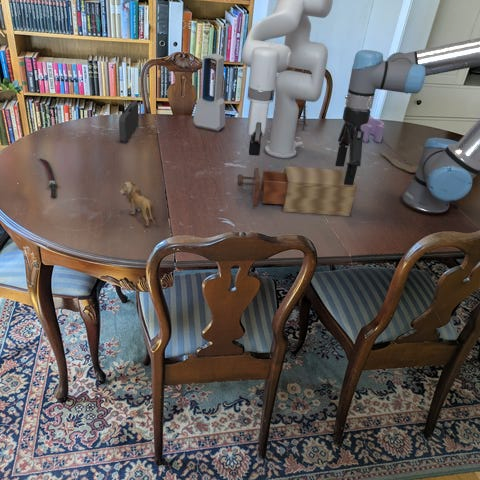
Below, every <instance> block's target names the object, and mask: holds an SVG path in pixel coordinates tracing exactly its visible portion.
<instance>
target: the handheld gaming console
mask: <svg viewBox="0 0 480 480" xmlns="http://www.w3.org/2000/svg"><path fill="white" fill-rule="evenodd" d="M138 126H139V103H138V101H131V102H130V103H129V104H128V105H127V107H126V108H125V109H124V110H123V112H122V113H121V114H120V116H119V117H118V131H119V133H118V134H119V141H120V142H121V143H127V142H128V141H129V139H130V138H131V136H132V135H133V134H134V132H135V131H136V129H137V128H138Z"/></svg>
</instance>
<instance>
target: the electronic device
mask: <svg viewBox="0 0 480 480" xmlns="http://www.w3.org/2000/svg"><path fill="white" fill-rule="evenodd" d="M212 61H214V62H215V66H214V83H213V84H214V85H213V95H210V87H211V72H212V71H211V69H212ZM224 63H225V56H223V55H221V54H219V53H209V54H207V55H205V56H202V63H201V64H202V65H201V66H202V67H201V87H200V98H198V99H197V100H196V103H195V108H194V115H193V125H194V126H195V128H201V129H205V130H209V131H214V132H219V131H220V130H222V129H223V128H224V127H225V126H226V101H225V100H224V98H223V97H222V92H223V77H224V65H225V64H224Z"/></svg>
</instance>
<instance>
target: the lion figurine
mask: <svg viewBox="0 0 480 480" xmlns="http://www.w3.org/2000/svg"><path fill="white" fill-rule="evenodd" d="M119 193H120V194H121V196H122V197H124V196H125V198H126V199H127V200H128V202H129V203H130V207H131V211H130V212H129V213H130V215H135V214H136V211H137V212H141V214H142V216H143V218H144V219H145V223H144V225H145V227H149V226H150V221H152V223H153V225H155V226H159V222H156V221H155V219H154V217H153V216H154V215H153V204H152V202H151V200H150V199H148V198H146V197H145V196H144V195H143V194H142V192H141V190H140V187H138V185H136V184H135V183H133V182H132V181H125V182H124V186H122V188H121V189H119ZM136 207H137V208H136ZM148 214H149V216H148Z"/></svg>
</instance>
